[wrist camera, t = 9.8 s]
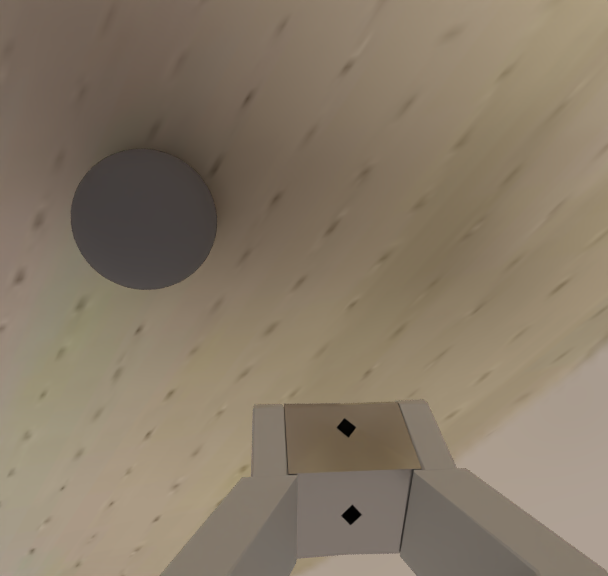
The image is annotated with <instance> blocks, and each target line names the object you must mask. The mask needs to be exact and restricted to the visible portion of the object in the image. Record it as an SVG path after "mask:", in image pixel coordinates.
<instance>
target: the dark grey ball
mask: <svg viewBox="0 0 608 576" xmlns="http://www.w3.org/2000/svg"><path fill="white" fill-rule="evenodd" d="M71 226H72V232H73V236H74V239H75V241H76V244H77V246H78V248H79V250H80V252H81V254H82V255H83V257H84V258H85V259H86V261H87V262H88V263H89V264H90V265H91V267H92V268H94V269H95V270H96V271H97V272H98V273H99V274H101V275H102V276H103V277H105V278H107V279H108V280H110V281H112V282H114V283H117V284H119V285H122V286H125V287H128V288H133V289H141V290H151V289H160V288H165V287H168V286H171V285H174V284H176V283H179V282H181V281H182V280H184V279H186V278H187V277H189V276H190V275H191V274H193V273H194V272H195V271H196V270H197V269H198V268H199V267H200V266H201V264H202V263H203V262H204V261H205V259H206V258H207V256H208V255H209V252H210V250H211V248H212V246H213V243H214V240H215V236H216V228H217V215H216V208H215V204H214V201H213V198H212V196H211V193H210V191H209V189H208V187H207V186H206V184H205V182H204V181H203V180H202V178H201V177H200V176H199V175H198V174H197V172H196V171H195V170H194V169H192V168H191V167H190V166H189V165H188V164H186V163H185V162H183V161H182V160H180V159H178V158H176V157H174V156H172V155H170V154H167V153H164V152H161V151H157V150H151V149H131V150H125V151H121V152H119V153H116V154H113V155H110V156H108V157H106V158H105V159H103V160H101V161H100V162H99V163H97V164H96V165H95V166H93V167H92V168H91V169H90V170H89V171H88V172H87V173H86V175H85V176H84V178H83V179H82V180H81V182H80V183H79V185H78V187H77V190H76V192H75V195H74V198H73V201H72V207H71Z"/></svg>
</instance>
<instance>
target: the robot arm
mask: <svg viewBox="0 0 608 576" xmlns="http://www.w3.org/2000/svg"><path fill="white" fill-rule="evenodd" d="M386 553H387V554H389V553H400V556H401V558H402V559H403V560H404V561H405V562H406V564H407V565H408V566H409V567H410V568H411V570H412V571H413V572H414V573H415V574H416V575H417V576H608V573H607V571H606V570H605V569H604V568H602V567H601V566H600V565H598V564H597V563H596V562H594V561H593V560H591V559H590V558H589V557H587V556H586V555H585V554H583V553H582V552H580V551H579V550H578V549H576V548H575V547H573V546H572V545H571V544H569V543H568V542H566V541H565V540H564V539H562V538H561V537H560V536H558V535H557V534H556V533H554V532H553V531H551V530H550V529H549V528H547V527H546V526H545V525H543V524H542V523H540V522H539V521H538V520H536V519H535V518H533V517H532V516H531V515H530V514H528V513H527V512H525V511H524V510H523V509H521V508H520V507H519V506H517V505H516V504H514V503H513V502H512V501H510V500H509V499H508V498H506V497H505V496H503V495H502V494H501V493H499V492H498V491H497V490H495V489H494V488H492V487H491V486H490V485H488V484H487V483H486V482H484V481H483V480H481V479H480V478H479V477H477V476H476V475H475V474H473V473H472V472H470V471H469V470H468V469H466V468H457V467H456V465H455V463H454V460H453V458H452V456H451V454H450V451H449V449H448V447H447V445H446V442H445V440H444V438H443V436H442V434H441V431H440V429H439V427H438V425H437V422H436V420H435V418H434V416H433V414H432V411H431V409H430V407H429V405H428V403H427V402H426V401H425V400H424V399H420V400H401V401H395V402H369V403H341V404H340V403H320V404H284V407H283V405H282V404H258V405H254V408H253V425H252V464H251V477H242V478H241V479H240V480H239V482H238V483H237V484H236V485H235V486H234V487H233V489H232V490H231V491H230V492H229V493H228V495H227V496H226V497H225V498H224V499H223V501H222V502H221V503H220V504H219V505H218V507H217V508H216V509H215V510H214V511H213V512H212V514H211V515H210V516H209V517H208V518H207V520H206V521H205V522H204V523H203V524H202V526H201V527H200V528H199V529H198V530H197V532H196V533H195V534H194V535H193V536H192V537H191V539H190V540H189V541H188V542H187V543H186V545H185V546H184V547H183V548H182V549H181V551H180V552H179V553H178V554H177V555H176V557H175V558H174V559H173V560H172V561H171V562H170V564H169V565H168V566H167V567H166V568H165V570H164V571H163V572H162V573H161V574H160V576H289V575H290V573H291V571H292V569H293V568H294V566H295V564H296V559H298V558H310V557H322V556H334V555H346V554H386Z"/></svg>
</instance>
